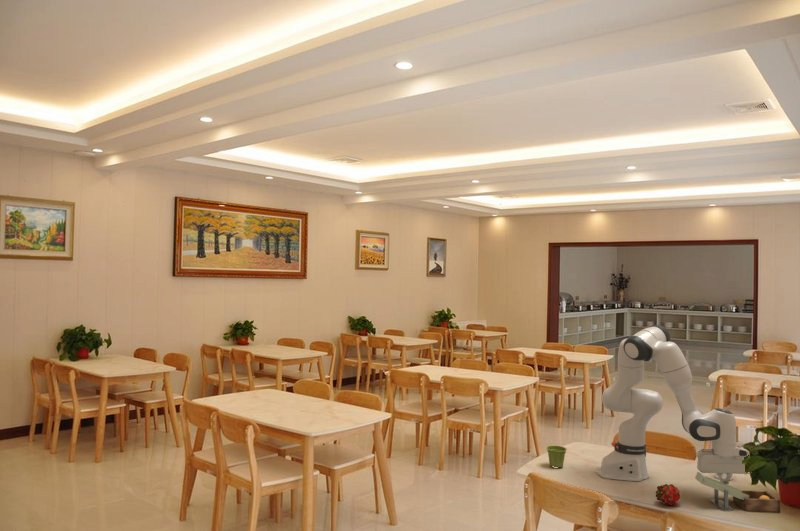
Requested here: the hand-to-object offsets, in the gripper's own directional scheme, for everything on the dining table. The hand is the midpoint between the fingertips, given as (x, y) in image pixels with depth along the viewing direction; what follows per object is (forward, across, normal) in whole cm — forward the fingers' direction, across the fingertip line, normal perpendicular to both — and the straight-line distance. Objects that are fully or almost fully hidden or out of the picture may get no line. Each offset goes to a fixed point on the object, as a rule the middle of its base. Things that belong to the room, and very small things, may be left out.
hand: (724, 483), depth 247 cm
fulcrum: (+6, -5, -8) cm, 11 cm away
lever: (0, -5, -4) cm, 6 cm away
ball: (+4, +12, -8) cm, 15 cm away
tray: (+6, +8, -8) cm, 13 cm away
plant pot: (+6, -60, +37) cm, 71 cm away
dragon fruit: (+6, -25, -7) cm, 26 cm away
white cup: (+6, +12, +27) cm, 30 cm away
